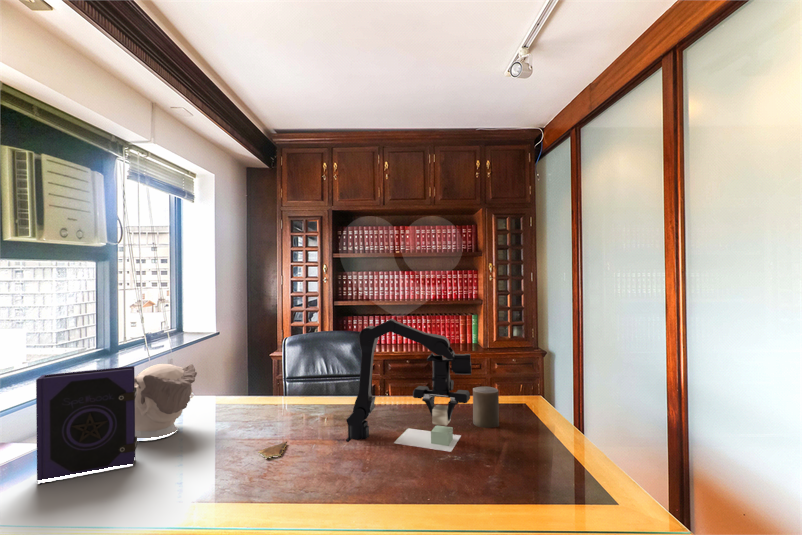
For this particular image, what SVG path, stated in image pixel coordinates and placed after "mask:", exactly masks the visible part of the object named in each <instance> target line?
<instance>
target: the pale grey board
mask: <svg viewBox="0 0 802 535" xmlns="http://www.w3.org/2000/svg"><path fill="white" fill-rule="evenodd" d="M431 431H432V430H431ZM431 431H430V430H422V429H416V428H409V427H408V428H406V430H405V431H404V432H402V434H401V435H400V436H399V437H398V438H397V439H396V440H395V441H394V442H393V444H397V445H403V446H411V447H417V448H423V449H431V450H436V451H445V452H449V453H450V452H451V453H452V451H453V449H454V448H455V446H456V445H457V443H458V442H459V441H460V439H461V437H462V435H460V434H454V433H453V440H452V441H451V443H450V444H449V446H446V445H439V444H432V443H431Z"/></svg>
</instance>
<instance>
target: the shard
mask: <svg viewBox="0 0 802 535" xmlns="http://www.w3.org/2000/svg"><path fill="white" fill-rule="evenodd" d="M287 444H288V441H284V442H281V443H277V444H275V445H272V446H269V447H266V448H263V449H260V450H259V451H257V454H258V453H260V454H262V455H263V456H264V457H265V458H269V457H273V456H281V457H282V455H283V452H284V451H285V450H286V448H287ZM285 447H286V448H285ZM283 450H284V451H283ZM281 454H282V455H281Z"/></svg>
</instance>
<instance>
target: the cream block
mask: <svg viewBox="0 0 802 535" xmlns="http://www.w3.org/2000/svg"><path fill="white" fill-rule="evenodd" d="M431 417H432V418H431V419H432V420H431V421H432V425H438V426H446V427H448V424H450V422H451V420H452V419H450V421H448V405H446V404H445V405H442V404H436V405H435V407H434V408H433V409H432V415H431Z"/></svg>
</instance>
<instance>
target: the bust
mask: <svg viewBox="0 0 802 535" xmlns="http://www.w3.org/2000/svg"><path fill="white" fill-rule="evenodd" d="M197 374H198V372H197V371H196V369H195V367H194V364H193V363H192V364H189V365H188V366H185V367H181V366H178V365H174V364H170V363H157V364H154V365H151V366H149V367H146V368H145V369H144V370H142V371H141V372H139V373H138V374H137V375H136V376H135V387H137V395H136V398H135V437H136V436H137V438H151V437H159V436H163V435H167V434H170V433H172V432H175V431H176V430H177V428H178V427H177V426H176V425H175V422H176V420H177V419H179V417H180V416H181V415H182V413H183V410H185V409H186V408H187V406H188V404H189V403H190V402H191V395H192V393H193V387H192V384H193V383H195V380H196V376H198V375H197Z"/></svg>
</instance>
